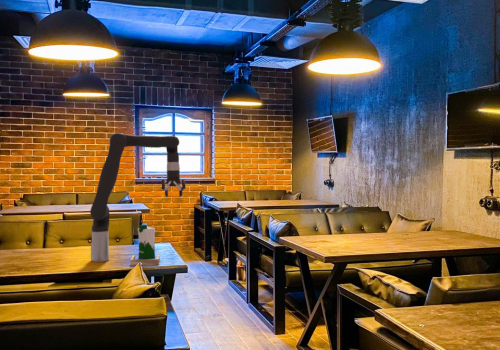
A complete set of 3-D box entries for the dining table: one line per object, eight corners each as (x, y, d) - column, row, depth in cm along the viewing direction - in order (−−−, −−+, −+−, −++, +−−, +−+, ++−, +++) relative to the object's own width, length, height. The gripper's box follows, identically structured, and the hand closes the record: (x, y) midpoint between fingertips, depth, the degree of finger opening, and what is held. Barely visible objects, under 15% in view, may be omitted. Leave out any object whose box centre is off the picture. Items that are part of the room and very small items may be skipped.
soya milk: (136, 258, 291) (135, 224, 290) (148, 256, 298) (148, 223, 297) (144, 260, 285) (144, 226, 284) (157, 258, 292) (157, 224, 291)
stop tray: (132, 260, 285) (132, 255, 285) (159, 259, 288) (159, 254, 287) (130, 265, 271) (130, 260, 271) (158, 264, 273) (158, 259, 273)
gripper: (159, 169, 292) (160, 197, 292) (182, 169, 288) (182, 197, 289) (164, 169, 299) (164, 196, 299) (186, 169, 296) (187, 196, 296)
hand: (173, 196), depth 294 cm, fingers open, 8 cm apart
